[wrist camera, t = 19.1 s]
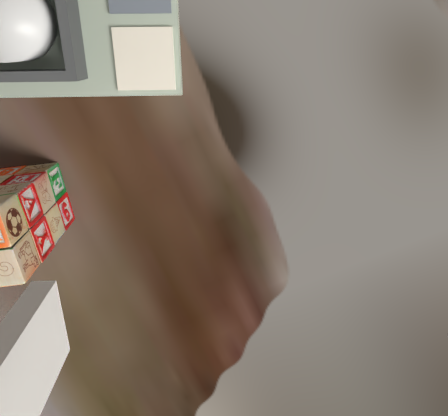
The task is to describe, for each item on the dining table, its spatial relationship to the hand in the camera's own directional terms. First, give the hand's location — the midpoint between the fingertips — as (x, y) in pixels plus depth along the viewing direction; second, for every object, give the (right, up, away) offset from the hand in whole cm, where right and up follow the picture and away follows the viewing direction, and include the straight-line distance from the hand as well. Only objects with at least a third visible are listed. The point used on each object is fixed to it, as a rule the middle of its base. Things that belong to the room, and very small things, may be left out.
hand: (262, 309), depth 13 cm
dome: (-17, +18, +18) cm, 31 cm away
